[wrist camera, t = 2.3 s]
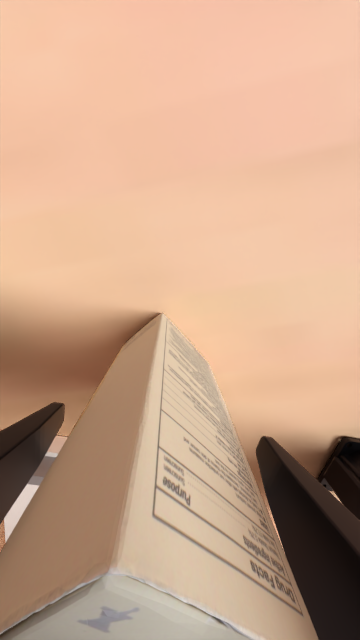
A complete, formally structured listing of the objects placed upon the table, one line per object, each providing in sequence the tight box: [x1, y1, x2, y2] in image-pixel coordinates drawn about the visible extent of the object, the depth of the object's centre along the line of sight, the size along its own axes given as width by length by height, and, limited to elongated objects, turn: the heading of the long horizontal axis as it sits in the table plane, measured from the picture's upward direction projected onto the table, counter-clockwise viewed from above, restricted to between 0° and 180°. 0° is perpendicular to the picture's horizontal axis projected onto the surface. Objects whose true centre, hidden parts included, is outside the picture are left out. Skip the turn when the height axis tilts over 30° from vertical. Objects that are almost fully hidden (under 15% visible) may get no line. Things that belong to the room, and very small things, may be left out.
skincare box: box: [0, 313, 319, 640], centre depth 9 cm, size 6×4×12 cm
